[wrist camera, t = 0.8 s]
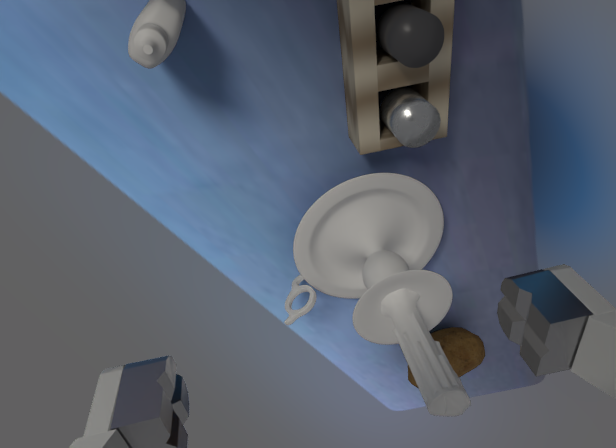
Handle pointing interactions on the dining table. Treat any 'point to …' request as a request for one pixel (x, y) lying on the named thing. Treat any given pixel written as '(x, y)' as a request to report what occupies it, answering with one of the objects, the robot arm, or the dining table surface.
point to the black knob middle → (410, 35)
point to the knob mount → (387, 72)
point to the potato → (458, 350)
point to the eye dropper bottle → (156, 31)
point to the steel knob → (409, 117)
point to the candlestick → (383, 273)
